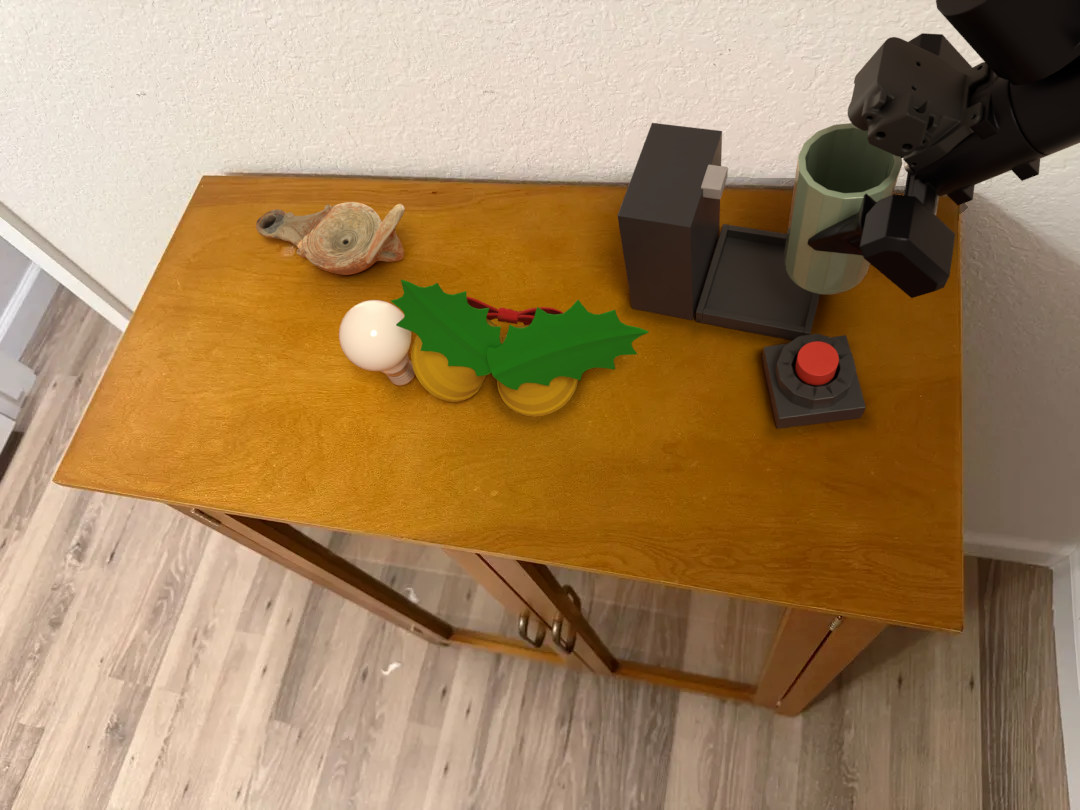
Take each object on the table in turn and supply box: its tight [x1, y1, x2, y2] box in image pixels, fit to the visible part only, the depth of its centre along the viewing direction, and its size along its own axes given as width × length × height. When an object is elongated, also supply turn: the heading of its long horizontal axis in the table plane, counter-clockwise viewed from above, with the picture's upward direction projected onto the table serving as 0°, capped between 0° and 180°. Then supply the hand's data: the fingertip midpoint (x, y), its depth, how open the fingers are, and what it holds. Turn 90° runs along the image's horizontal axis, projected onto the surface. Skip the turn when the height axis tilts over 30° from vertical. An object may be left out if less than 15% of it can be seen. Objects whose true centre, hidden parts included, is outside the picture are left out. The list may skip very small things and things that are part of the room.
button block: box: [761, 333, 867, 430], centre depth 66 cm, size 7×7×4 cm
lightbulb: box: [338, 299, 416, 386], centre depth 71 cm, size 6×6×11 cm
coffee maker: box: [617, 122, 821, 341], centre depth 67 cm, size 16×10×14 cm, turn 70°
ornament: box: [390, 279, 650, 418], centre depth 68 cm, size 21×8×15 cm, turn 84°
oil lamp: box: [255, 201, 406, 276], centre depth 80 cm, size 9×21×10 cm, turn 69°
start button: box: [795, 341, 839, 385], centre depth 63 cm, size 3×3×2 cm
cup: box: [784, 122, 903, 295], centre depth 59 cm, size 7×7×12 cm
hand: (819, 207), depth 59 cm, fingers closed on cup, 7 cm apart
